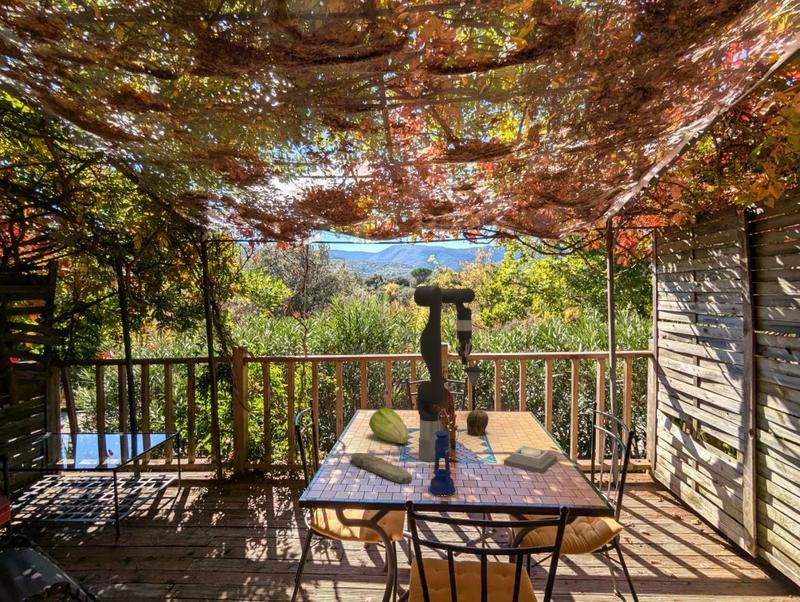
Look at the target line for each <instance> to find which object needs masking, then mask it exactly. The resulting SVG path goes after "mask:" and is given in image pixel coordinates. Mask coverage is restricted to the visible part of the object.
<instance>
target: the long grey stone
mask: <svg viewBox="0 0 800 602" xmlns="http://www.w3.org/2000/svg"><path fill="white" fill-rule="evenodd" d="M350 459H351V460H350V461H351V462H352V463H354V464H355V465H356V466H358V467H360V469H363V470H366V471H369V472H370V473H375V474H377V476H381V477H384V478H385V479H387V480H389V481H391V482H395V483H398V484H403V485H406V484H410V483H411V482H413V481H412V479H413V478H412V475H411V473H410V472H408V471H407V470H404V469H402V468H400V467H398V466H396V465H393V464H391V463H389V462H388V461H386V460H385V459H383V457H379V456H377V455H374V454H368V453H363V452H355V453H352V454H350Z"/></svg>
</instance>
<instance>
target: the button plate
mask: <svg viewBox="0 0 800 602" xmlns="http://www.w3.org/2000/svg"><path fill="white" fill-rule="evenodd" d="M525 447H528V446H526V445H522V446H521V447H520V448H517V449H516V450H515V451H514V452H512V454H510V455H508V457H507V458H505V459H504V460H503V465H504V466H508V467H512V468H517V469H520V470H525V471H529V472H532V473H533V472H534V473H537V474H543V473H544V472H546V470H548V469H549V468H550V467H551V466H552V465H554V464H555V462H557V461H558V456H557V455H556V454H552V453H551V454H550V451H549V450H546V449H541V448H538V449H539V450H540V451H541V455H540V456H539V457H538V458H537V457H533V456H528V455H523V454H521V449H522V448H525Z"/></svg>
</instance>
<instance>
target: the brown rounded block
mask: <svg viewBox="0 0 800 602" xmlns="http://www.w3.org/2000/svg"><path fill="white" fill-rule="evenodd" d="M488 426H489V415H488V413H487V412H486V411H484V410H481V409H478V410H476V409H475V410H474V411H472V410H471V411H470V412H468V415H467V418H466V428H467V429H466V431H467V434H468V435H470V436H473V437H478V436H484V435H485V433H486V429H487V427H488Z"/></svg>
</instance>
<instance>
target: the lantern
mask: <svg viewBox="0 0 800 602" xmlns="http://www.w3.org/2000/svg"><path fill="white" fill-rule="evenodd" d="M443 411H444V414H445V415H446V416H445V417H446V419H447V420H448V421H447V422H448V431H444V424H442V423H441V425H440V430H441V431H439V414H440V413H441V412H443ZM439 412H440V413H439V414H438V431H437V432H435V435H436V436H437V439H436V440H435V455H434V456H435V461H434V466H433V467H434V470H433V473H432V474H434V476H433V477H431V479H430V482H429V484H430V485H429V490H428V491H430V492H431V493H432V494H431V493H430V492H429V493H430V494H431V495H433V494H434V495H433V496H435V495H440V496H439V497H441V495H443V496H444V495H450V494H453V493H454V492H455V493H456V487H455V482H454V480H453V478H452V477H451V474H452V472H451V464H450V457H451V455H450V453H451V425H450V423H451V422H450V419H449V416H448V414H447V412H446V409H444V408H442V409H441V410H439ZM447 438H448V439H447ZM439 458H441V459H444V466H445V467H444V468H440V460H439ZM455 493H454V494H455ZM454 494H453V495H454ZM450 496H451V495H450Z"/></svg>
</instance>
